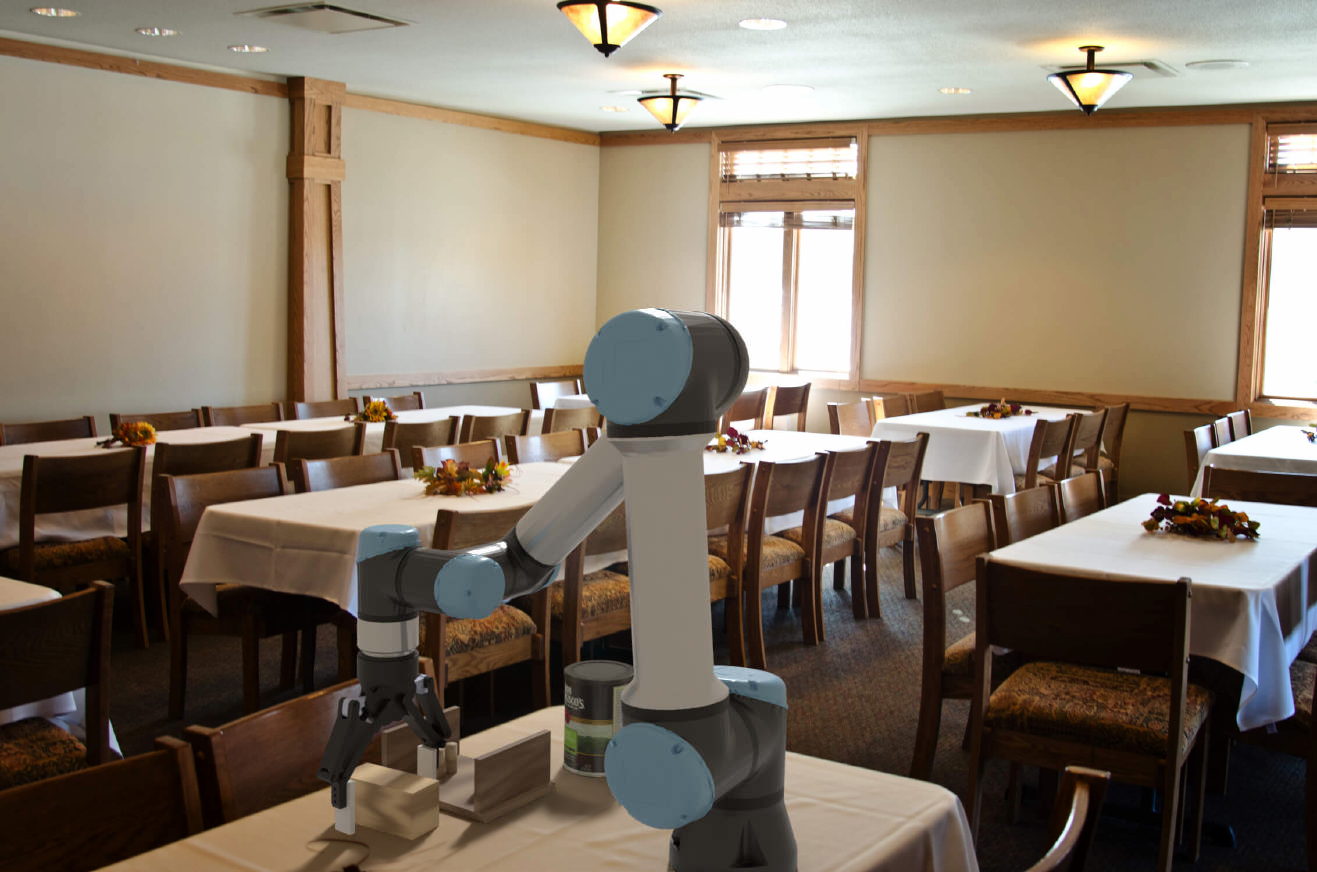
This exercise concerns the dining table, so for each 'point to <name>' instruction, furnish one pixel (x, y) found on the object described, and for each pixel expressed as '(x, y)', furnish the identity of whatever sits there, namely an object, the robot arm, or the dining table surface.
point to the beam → (395, 801)
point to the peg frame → (477, 770)
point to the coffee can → (592, 712)
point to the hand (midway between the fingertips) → (387, 813)
